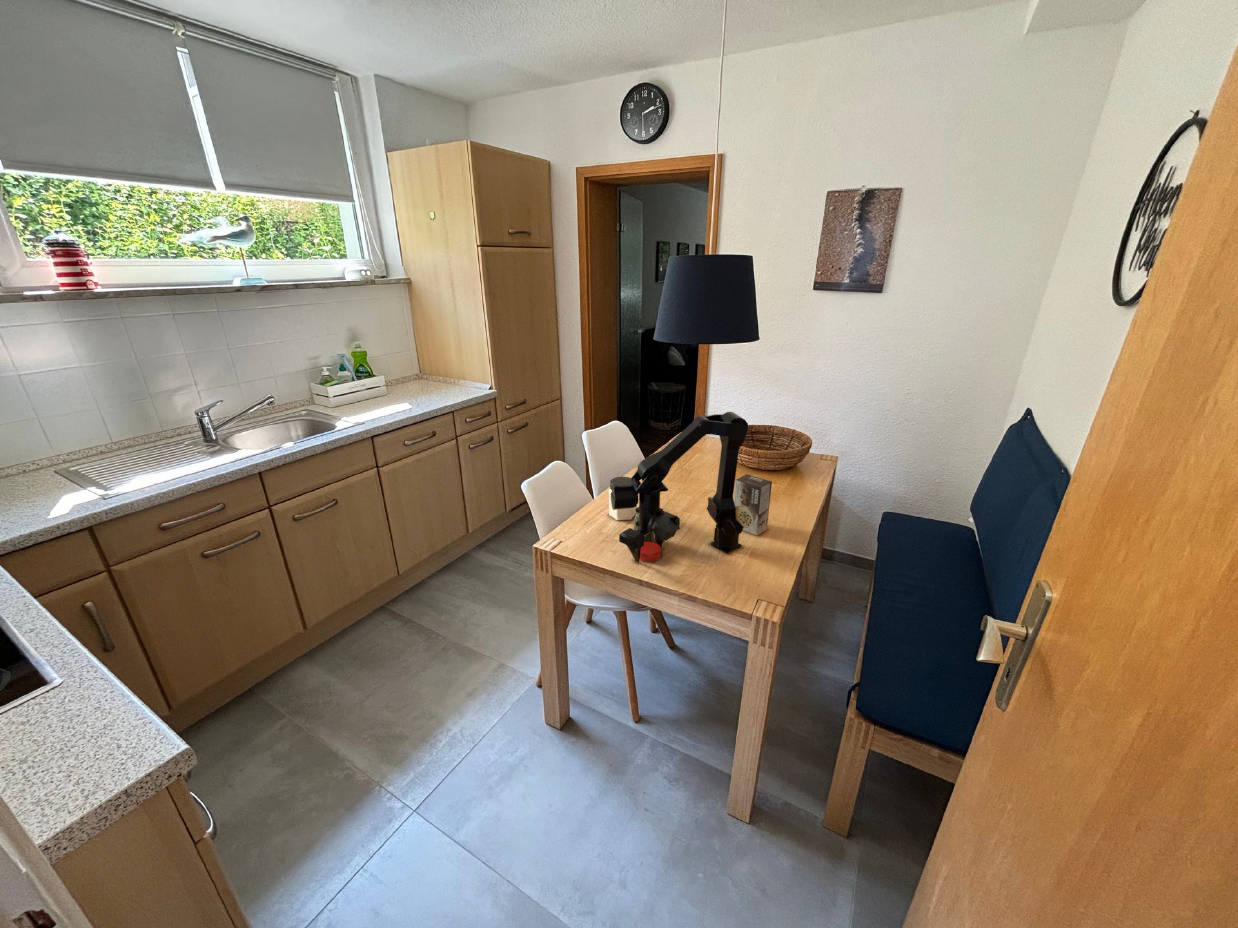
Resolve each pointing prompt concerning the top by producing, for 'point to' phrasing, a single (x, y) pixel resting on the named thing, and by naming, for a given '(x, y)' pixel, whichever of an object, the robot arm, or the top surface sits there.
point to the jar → (620, 513)
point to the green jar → (648, 537)
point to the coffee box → (752, 503)
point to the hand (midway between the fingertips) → (648, 554)
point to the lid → (650, 552)
